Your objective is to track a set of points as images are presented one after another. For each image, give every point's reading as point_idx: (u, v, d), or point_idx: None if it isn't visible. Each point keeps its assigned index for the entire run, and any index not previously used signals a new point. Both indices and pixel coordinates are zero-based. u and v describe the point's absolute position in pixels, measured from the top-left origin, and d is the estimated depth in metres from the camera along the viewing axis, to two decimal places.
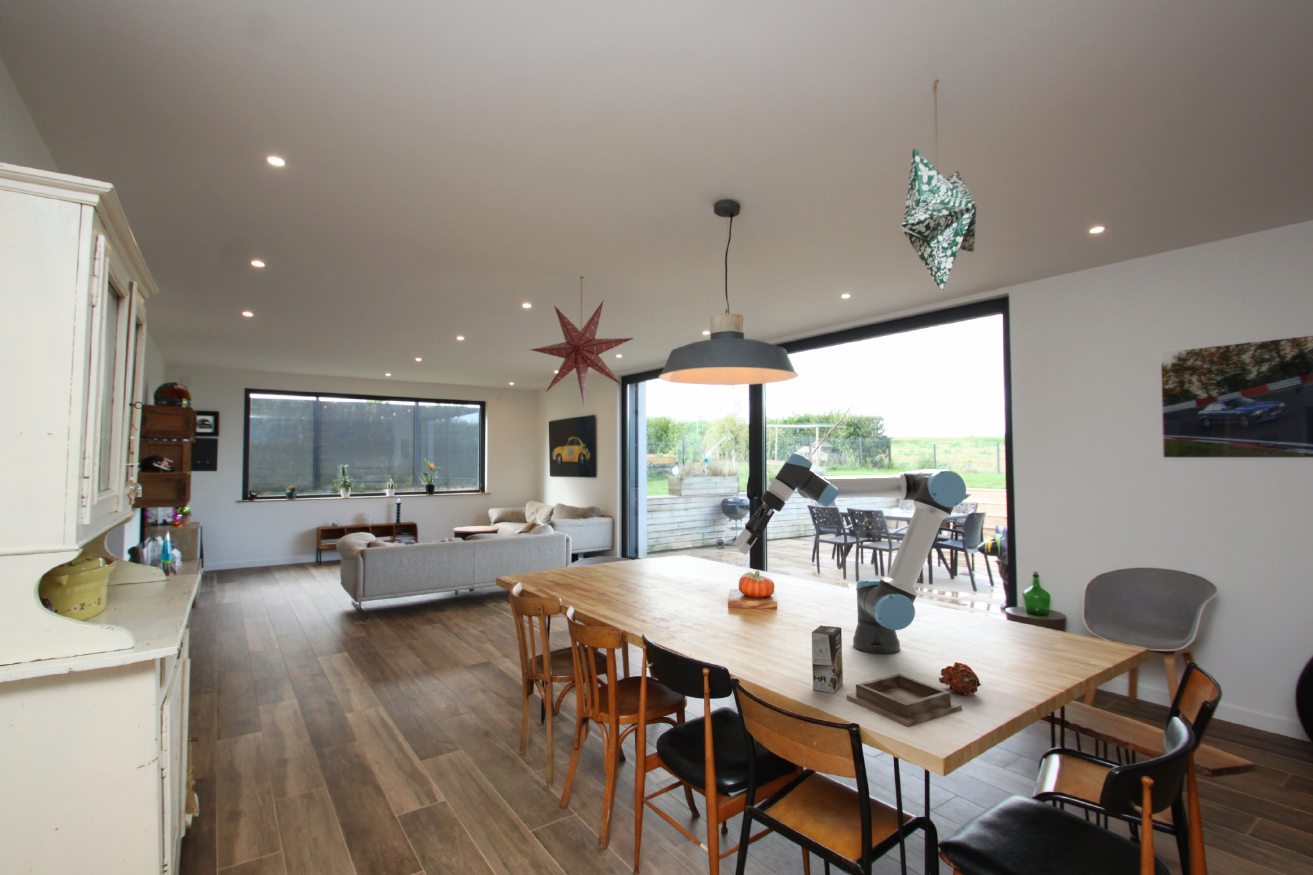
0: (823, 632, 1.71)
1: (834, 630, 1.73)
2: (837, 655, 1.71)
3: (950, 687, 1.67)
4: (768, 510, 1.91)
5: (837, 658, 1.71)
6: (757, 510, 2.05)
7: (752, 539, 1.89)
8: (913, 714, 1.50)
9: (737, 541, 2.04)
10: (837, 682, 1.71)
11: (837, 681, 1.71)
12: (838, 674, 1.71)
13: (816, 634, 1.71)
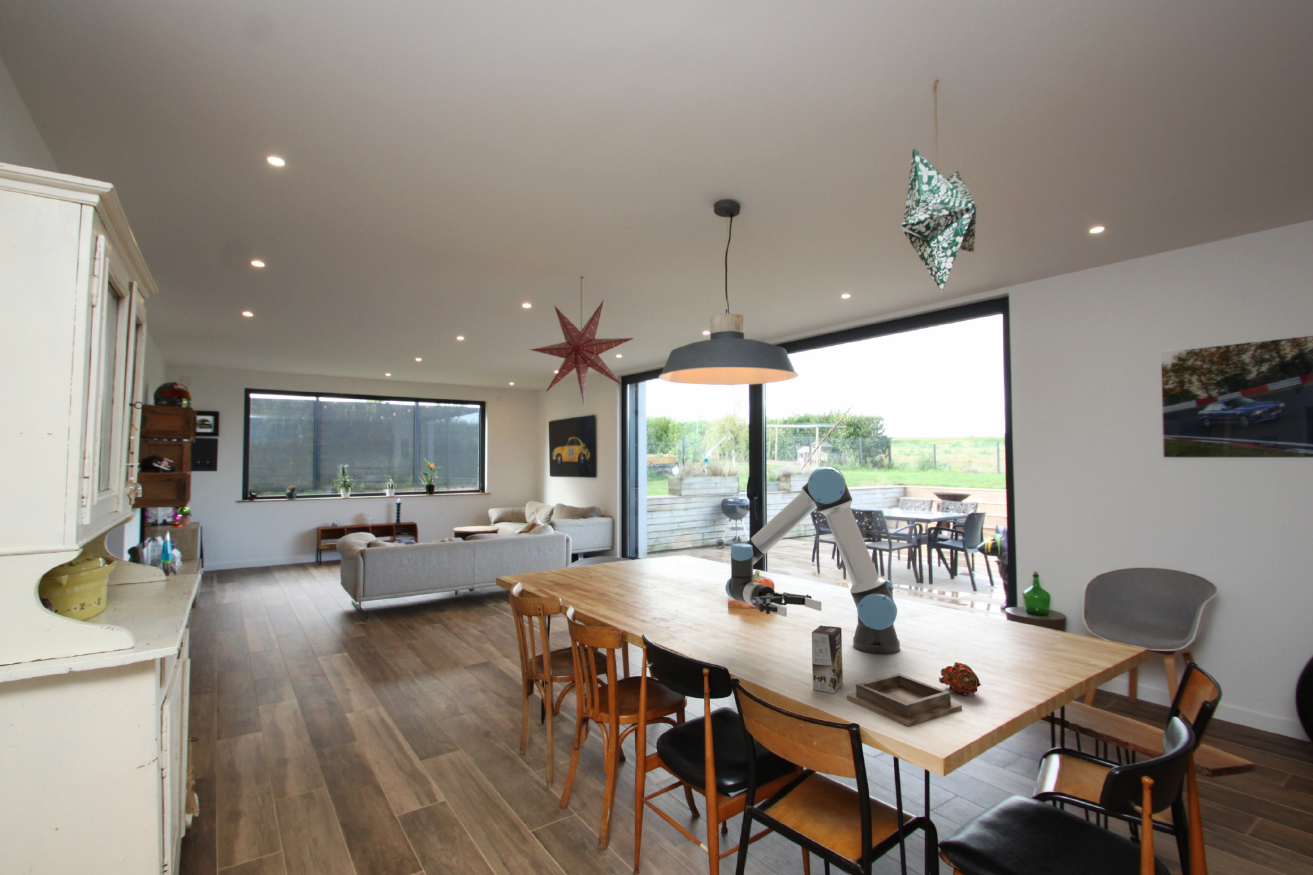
0: (823, 632, 1.71)
1: (834, 630, 1.73)
2: (837, 655, 1.71)
3: (950, 687, 1.67)
4: (753, 603, 1.93)
5: (837, 658, 1.71)
6: None
7: (770, 608, 1.83)
8: (913, 714, 1.50)
9: (816, 608, 1.87)
10: (837, 682, 1.71)
11: (837, 681, 1.71)
12: (838, 674, 1.71)
13: (816, 634, 1.71)
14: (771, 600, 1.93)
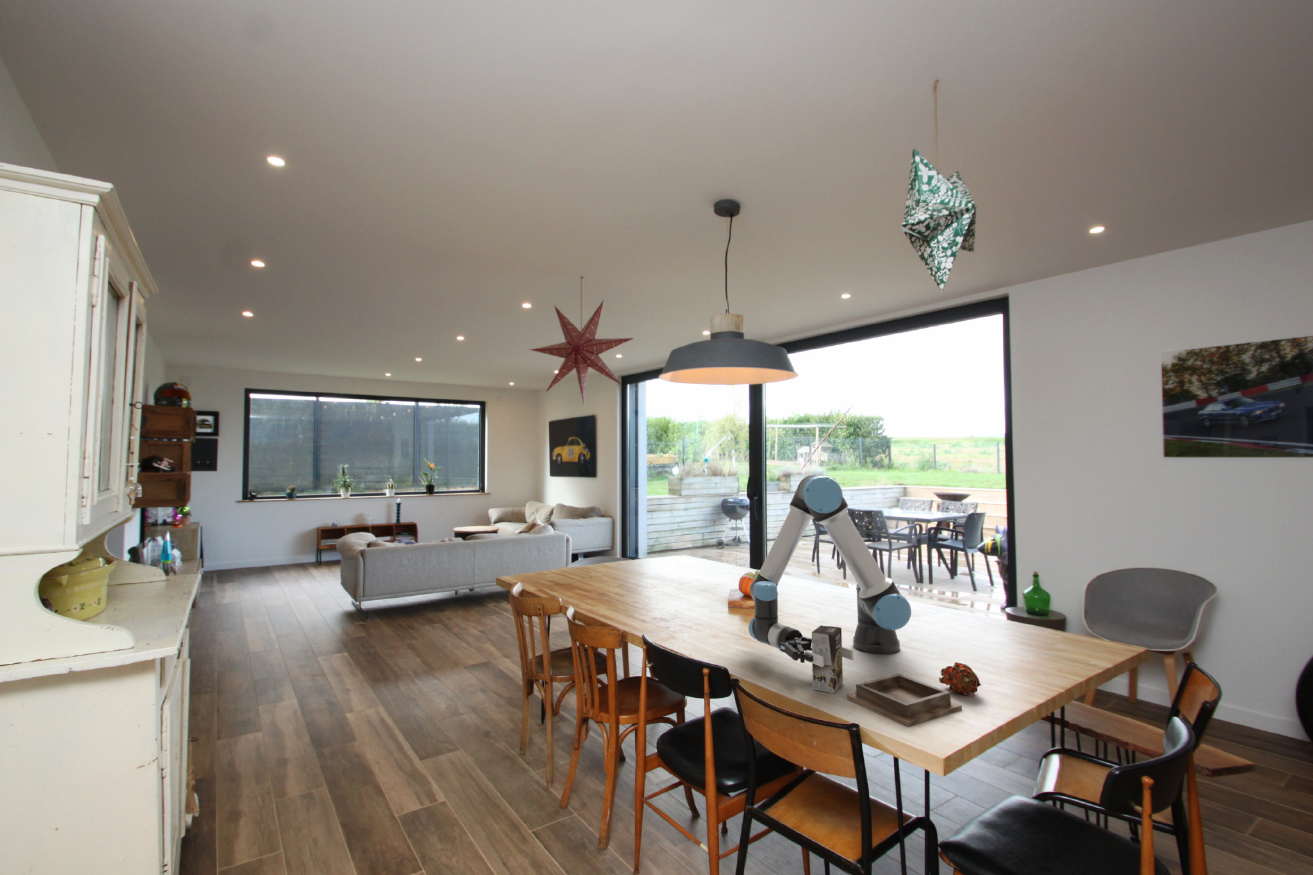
0: (823, 632, 1.71)
1: (834, 630, 1.73)
2: (837, 655, 1.71)
3: (950, 687, 1.67)
4: (781, 649, 1.81)
5: (837, 658, 1.71)
6: None
7: (805, 657, 1.71)
8: (913, 714, 1.50)
9: (847, 656, 1.74)
10: (837, 682, 1.71)
11: (837, 681, 1.71)
12: (838, 674, 1.71)
13: (816, 634, 1.71)
14: (801, 646, 1.81)
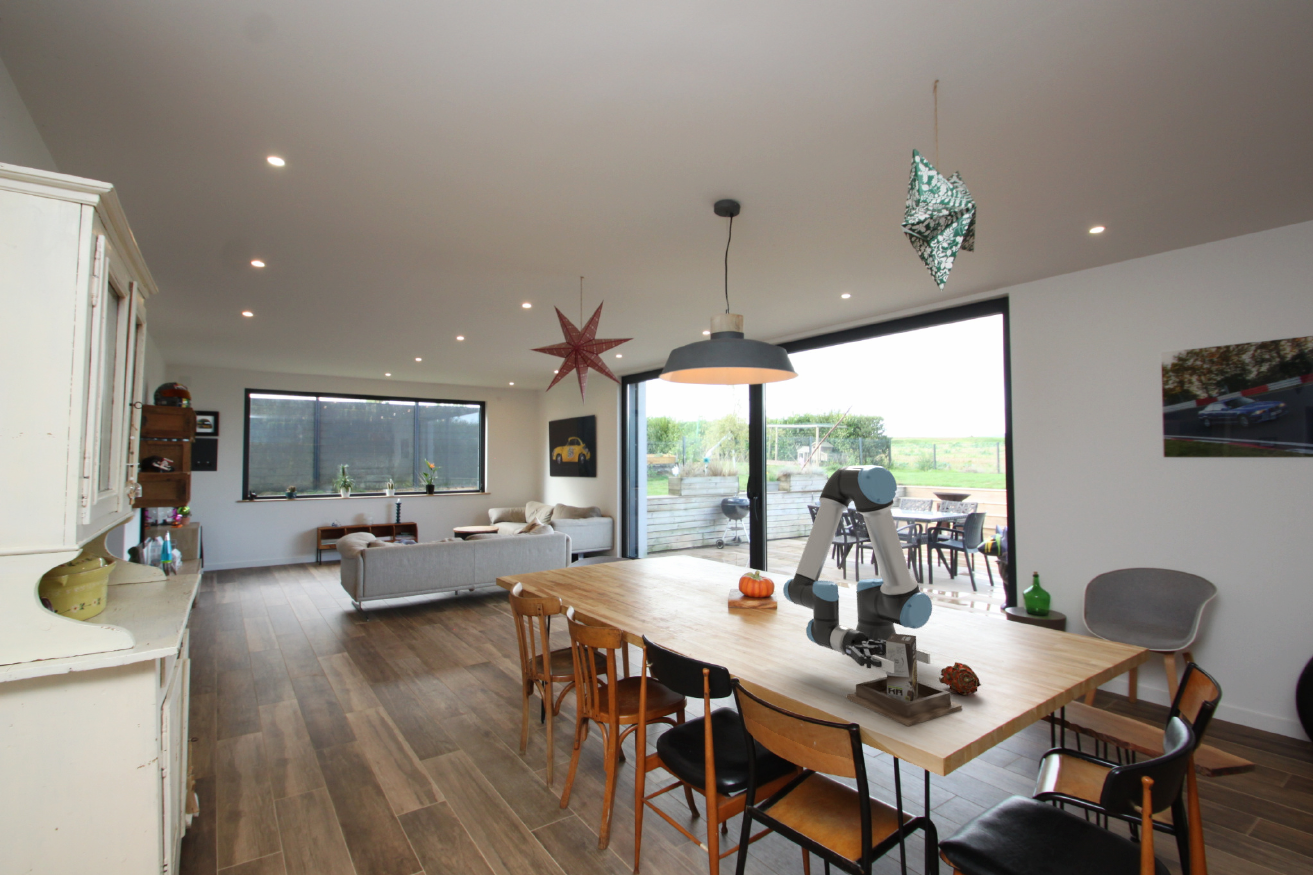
0: (898, 641, 1.58)
1: (910, 639, 1.60)
2: (914, 666, 1.58)
3: (950, 687, 1.67)
4: (847, 653, 1.68)
5: (913, 669, 1.58)
6: None
7: (872, 662, 1.59)
8: (913, 714, 1.50)
9: (923, 660, 1.62)
10: (914, 695, 1.58)
11: (914, 694, 1.58)
12: (915, 686, 1.59)
13: (891, 643, 1.58)
14: (868, 650, 1.68)
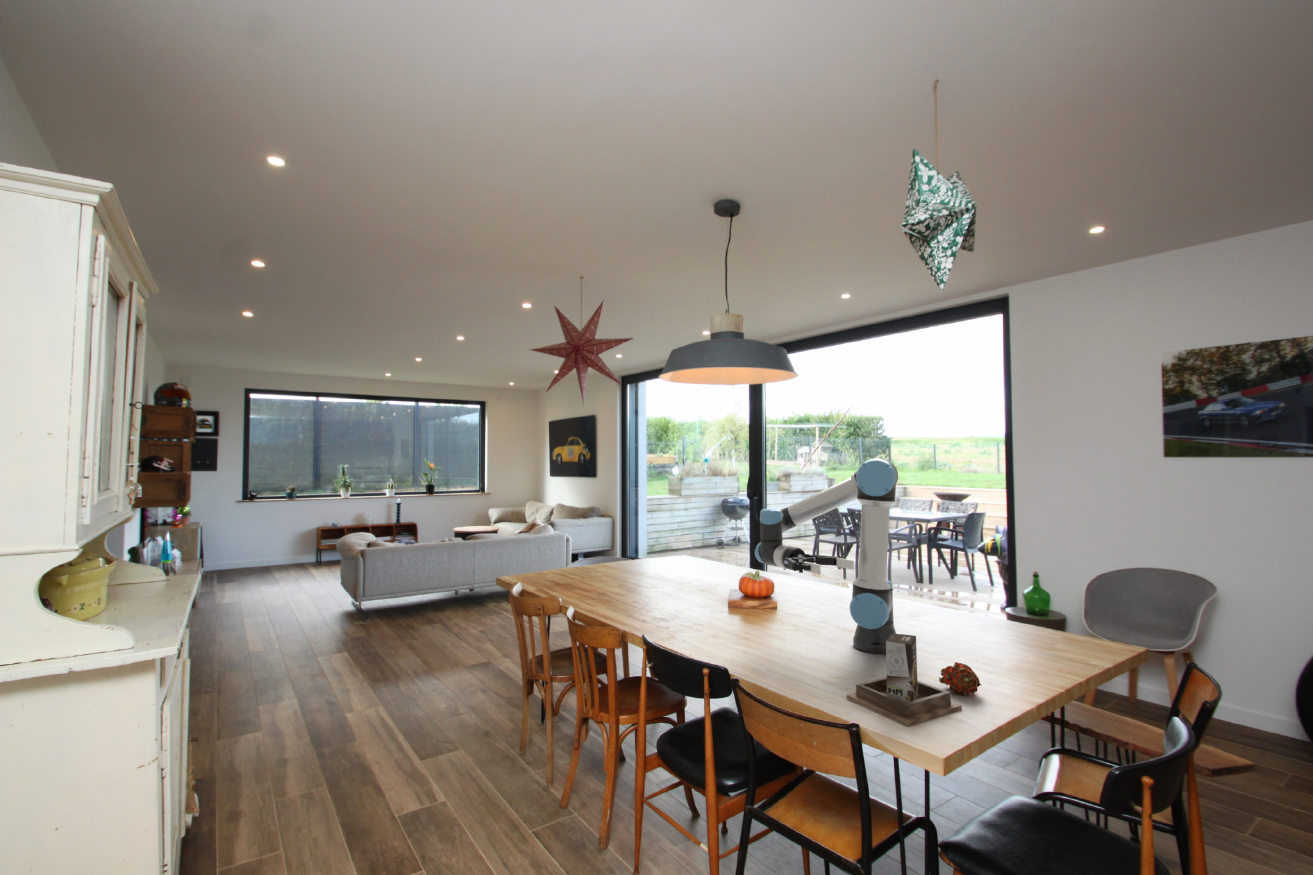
0: (898, 641, 1.58)
1: (910, 639, 1.60)
2: (914, 666, 1.58)
3: (950, 687, 1.67)
4: (785, 564, 1.95)
5: (913, 669, 1.58)
6: None
7: (803, 566, 1.85)
8: (913, 714, 1.50)
9: (848, 567, 1.89)
10: (914, 695, 1.58)
11: (914, 694, 1.58)
12: (915, 686, 1.59)
13: (891, 643, 1.58)
14: (803, 561, 1.94)
